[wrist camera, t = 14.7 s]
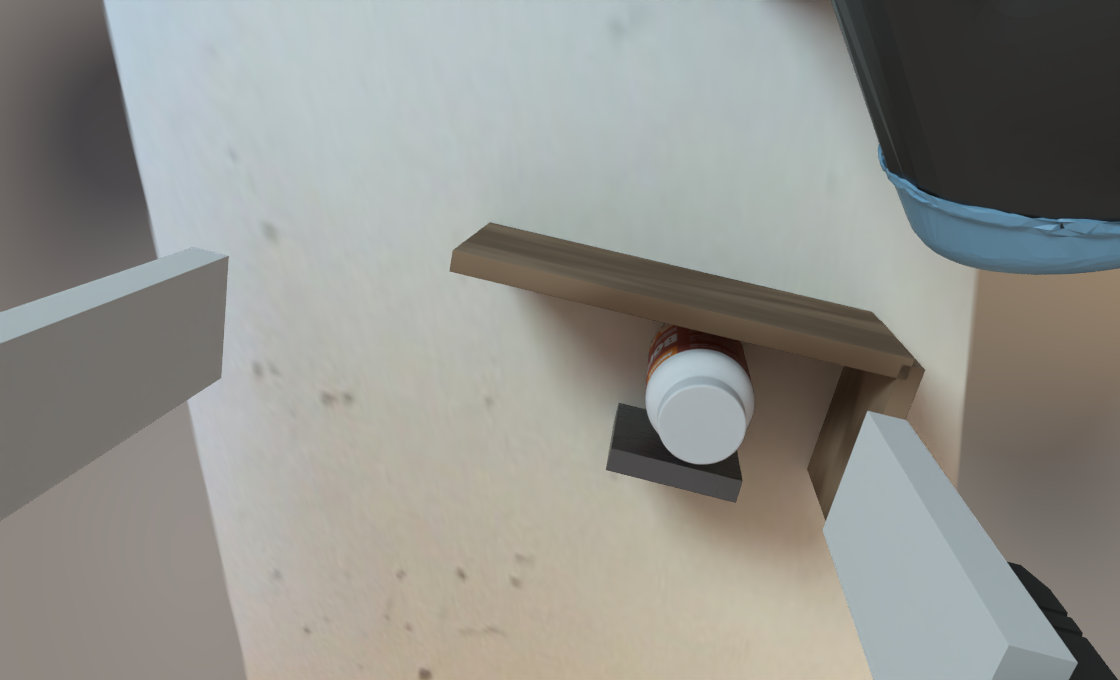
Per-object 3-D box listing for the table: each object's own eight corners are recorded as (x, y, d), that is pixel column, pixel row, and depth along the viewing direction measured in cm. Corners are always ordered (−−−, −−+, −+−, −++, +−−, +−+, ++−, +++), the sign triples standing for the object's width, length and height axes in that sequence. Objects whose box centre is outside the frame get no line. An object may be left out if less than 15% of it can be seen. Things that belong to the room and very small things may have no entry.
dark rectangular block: (618, 403, 53) (611, 448, 46) (733, 431, 52) (742, 481, 46) (613, 422, 53) (605, 469, 47) (727, 450, 53) (735, 502, 46)
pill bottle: (662, 300, 50) (659, 357, 40) (754, 323, 50) (777, 387, 39) (638, 385, 52) (630, 461, 42) (727, 408, 52) (741, 490, 41)
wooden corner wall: (489, 222, 50) (452, 250, 42) (883, 314, 48) (927, 362, 40) (461, 383, 54) (422, 438, 45) (824, 473, 52) (854, 548, 44)
